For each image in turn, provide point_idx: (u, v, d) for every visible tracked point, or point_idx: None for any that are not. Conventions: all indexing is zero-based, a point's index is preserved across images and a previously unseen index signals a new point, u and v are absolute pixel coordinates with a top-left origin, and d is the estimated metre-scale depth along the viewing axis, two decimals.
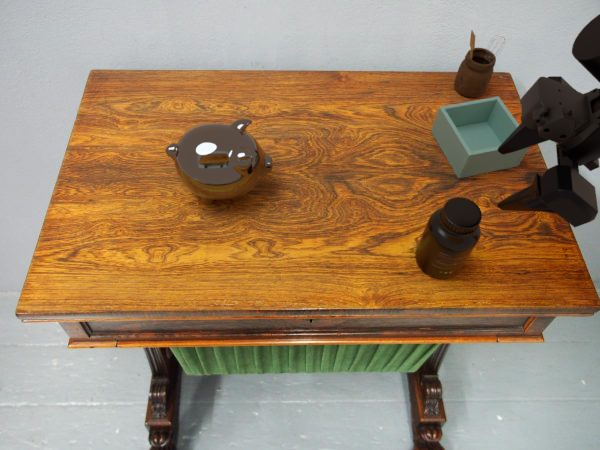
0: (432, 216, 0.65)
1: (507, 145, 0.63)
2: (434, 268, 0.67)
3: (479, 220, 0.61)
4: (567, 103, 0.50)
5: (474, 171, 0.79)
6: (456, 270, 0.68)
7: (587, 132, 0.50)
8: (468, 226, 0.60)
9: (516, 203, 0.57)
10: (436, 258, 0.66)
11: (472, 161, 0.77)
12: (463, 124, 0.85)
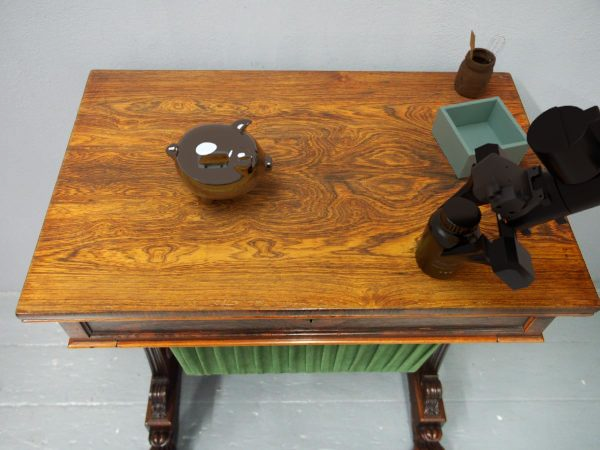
0: (432, 216, 0.65)
1: None
2: (434, 268, 0.67)
3: (479, 220, 0.61)
4: (514, 180, 0.55)
5: None
6: (456, 270, 0.68)
7: (529, 207, 0.55)
8: (468, 226, 0.60)
9: (459, 256, 0.61)
10: (436, 258, 0.66)
11: (472, 161, 0.77)
12: (463, 124, 0.85)
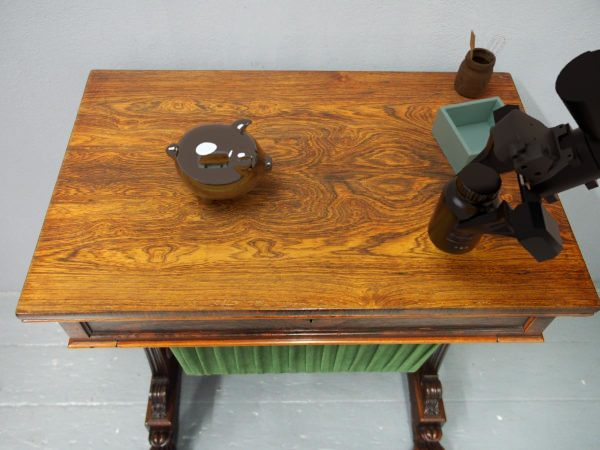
0: (446, 185, 0.59)
1: None
2: (448, 243, 0.62)
3: (499, 187, 0.55)
4: (539, 139, 0.49)
5: None
6: (473, 245, 0.62)
7: (557, 169, 0.50)
8: (487, 193, 0.55)
9: (478, 227, 0.56)
10: (451, 232, 0.60)
11: None
12: (463, 124, 0.85)
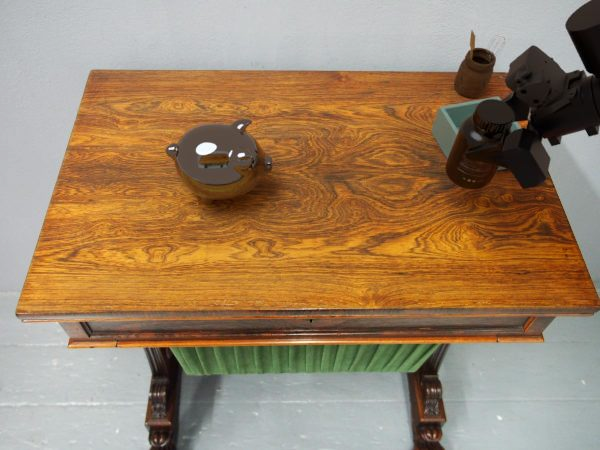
0: (467, 117, 0.66)
1: None
2: (458, 173, 0.68)
3: (509, 121, 0.61)
4: (549, 74, 0.55)
5: None
6: (480, 181, 0.68)
7: (558, 105, 0.55)
8: (496, 123, 0.61)
9: (481, 153, 0.62)
10: (461, 160, 0.66)
11: None
12: None
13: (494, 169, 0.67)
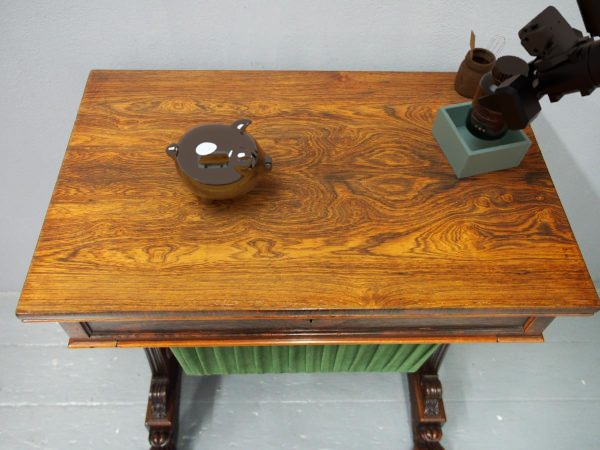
0: None
1: None
2: (472, 120, 0.76)
3: None
4: (556, 32, 0.62)
5: (474, 171, 0.79)
6: (489, 131, 0.76)
7: (557, 60, 0.62)
8: (507, 74, 0.68)
9: (489, 99, 0.70)
10: (475, 107, 0.75)
11: (472, 161, 0.77)
12: (463, 124, 0.85)
13: (504, 122, 0.74)
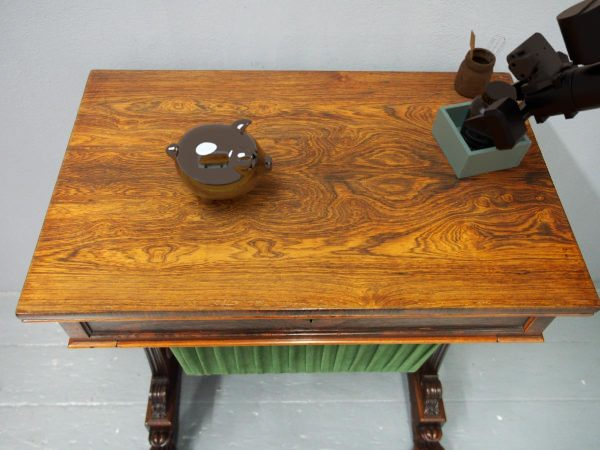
0: None
1: None
2: None
3: None
4: (542, 58, 0.65)
5: (474, 171, 0.79)
6: None
7: (542, 84, 0.65)
8: (496, 99, 0.72)
9: (475, 122, 0.73)
10: (466, 128, 0.78)
11: (472, 161, 0.77)
12: None
13: (493, 143, 0.78)
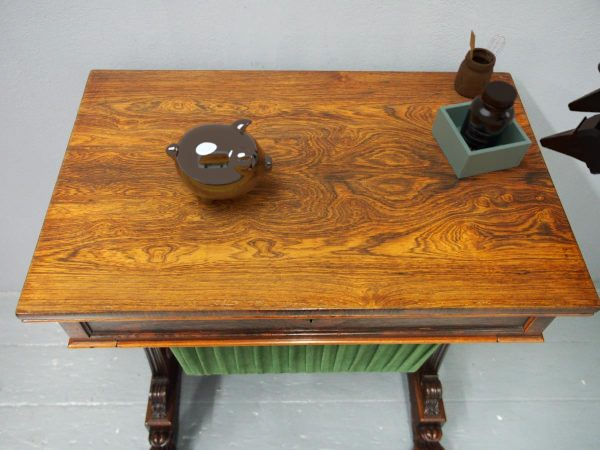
0: None
1: (578, 102, 0.69)
2: None
3: (509, 100, 0.72)
4: None
5: (474, 171, 0.79)
6: None
7: None
8: (496, 99, 0.72)
9: (556, 141, 0.63)
10: (466, 128, 0.78)
11: (472, 161, 0.77)
12: None
13: (493, 143, 0.78)
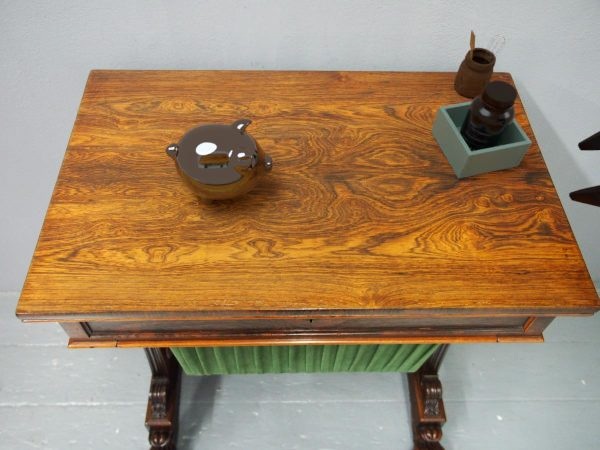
0: None
1: (590, 142, 0.65)
2: None
3: (509, 100, 0.72)
4: None
5: (474, 171, 0.79)
6: None
7: None
8: (496, 99, 0.72)
9: (591, 196, 0.59)
10: (466, 128, 0.78)
11: (472, 161, 0.77)
12: None
13: (493, 143, 0.78)
